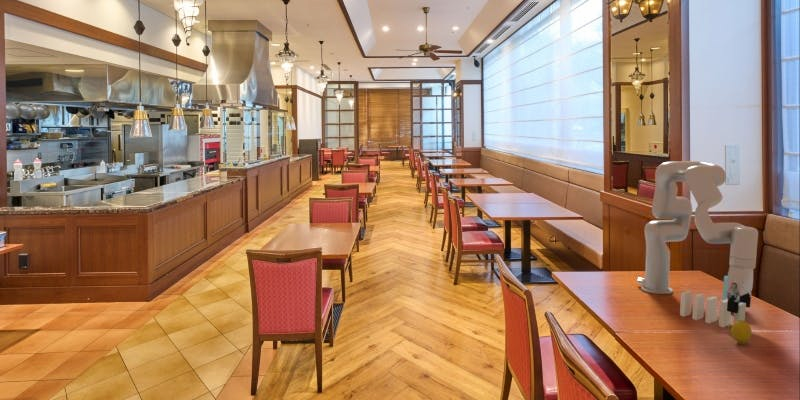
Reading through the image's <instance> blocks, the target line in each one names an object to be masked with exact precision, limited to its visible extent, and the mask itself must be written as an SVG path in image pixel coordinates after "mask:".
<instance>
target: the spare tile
mask: <svg viewBox="0 0 800 400" xmlns="http://www.w3.org/2000/svg"><path fill="white" fill-rule="evenodd" d="M746 309H747V307H746V303H742V302H740V303H739V305H738V313H733V320H732V321H733V324H734V323H735V322H737V321H740V320H743V321H744V322H746V321H745V320H746ZM733 324H732V325H733Z"/></svg>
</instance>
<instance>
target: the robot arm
mask: <svg viewBox="0 0 800 400" xmlns="http://www.w3.org/2000/svg"><path fill="white" fill-rule="evenodd" d="M654 179H655V180H654V181H655V183H654V184H655V187H654V188H655V189H654V194H653V199H652V207H651V213H652V216H653V217H654V218H656V219H659V220H651V221H649V222H647V223H646V224H645V225H644V230H643V231H644V238H645V271H644V273H645V275H644V278H643V277H639V276H638V277H637V279H636V283H640V284H641V286H640V289H641V291H643V292H646V293H649V294H655V295H669V294H672V293H673V292H674V291H673V290H674V289H673V288H672V287H670V269H671V266H670V265H671V250H670V248H669V246H668V245H667V244H666V243H668V242H669V243H670V242H682V241H684V240H686V238H687V236H688V234H689V231H690V225H691V220H692V215H693V205H692V202H691V201H690V199H689V198H688V197H684V196H678V191H679V189H678V185H677V183H678V182H679V183H680V182H683V183H684V182H685V183H686V184H687V186H688V188H689V190H690V191H691V194H692V196H693V197H694V199H695V202H696V204H697V206H696V208H695V211H694V224H695V227H696V229H697V231H698V233H699V234H700V236H701V238H702V239H703V240H704V242H706V243H707V244H712V245H715V244H716V245H719V244H722V245H723V244H730V248H729V249H730V251H729V263H728V265H729V268H728V272H727V276H728V277H727V284H726V293H727V294H728V296H727V297H728V298H727V300H728V303H727V311H729V312H731V313H733V314H734V313H738V305H739V303H740V302H742V303H746V308H750V307H751V301H752V290H753V287H754V269H756V264H757V252H758V251H757V250H758V242H759V241H758V239H759V231H758V229H757V228H755V227H753V226H746V225H743V224H741V223H740V222H739V223H738V222H733V221H732V222H713V220H712V219H711V217H710V214H709V209H711V208H713V207H715V206H717V205H719V204H720V202H722V200H723V194H722V193H721V190H720V189H719V188H718V187H720V186H722V185H724V184H725V183H726V180H727V174H726V171H725V170H724V169H723V167H722V166H720V165H718V164H713V163H709V162H705V161H704V162H703V161H697V160H690V161H689V160H687V161H686V160H684V161H681V160H680V161H677V160H675V161H666V162H662V163H661V164H659V165H658V166H657V168H656V169H655V174H654ZM676 182H677V183H676ZM660 219H661V220H660ZM662 219H663V220H662ZM667 219H668V220H667ZM669 219H670V220H669ZM734 292H736V293H734ZM734 295H735V296H736V298H735V296H734ZM739 296H740V302H737V301H738V299H739Z"/></svg>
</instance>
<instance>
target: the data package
mask: <svg viewBox="0 0 800 400" xmlns="http://www.w3.org/2000/svg"><path fill="white" fill-rule="evenodd" d="M727 277H728V275H724V276H723V284H722V285H723V287H722V301H723V300H726V299H727V298H728V297H727V296H728V294H727V293H726V284H727ZM734 293H736V292H734ZM734 296H735V295H734ZM735 298H736V296H735ZM737 302H740V296H739V299H738V301H737Z"/></svg>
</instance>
